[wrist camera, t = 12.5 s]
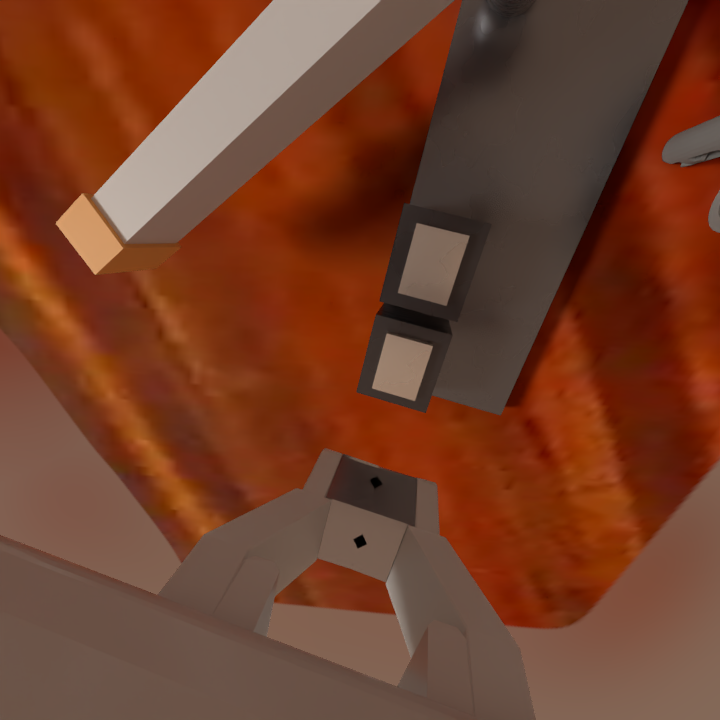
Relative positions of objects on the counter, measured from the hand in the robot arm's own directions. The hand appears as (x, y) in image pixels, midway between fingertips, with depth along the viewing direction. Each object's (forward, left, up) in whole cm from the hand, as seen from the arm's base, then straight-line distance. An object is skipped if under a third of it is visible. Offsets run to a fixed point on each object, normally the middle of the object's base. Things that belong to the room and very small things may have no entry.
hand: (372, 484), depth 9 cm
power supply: (-5, 0, -13) cm, 14 cm away
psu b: (0, 0, -13) cm, 13 cm away
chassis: (-9, +3, -14) cm, 17 cm away
